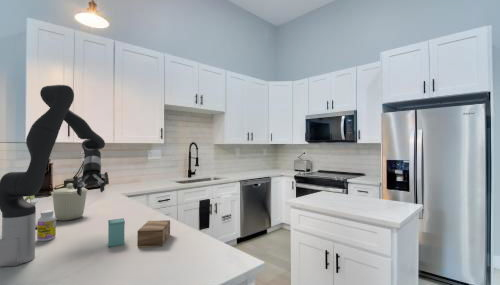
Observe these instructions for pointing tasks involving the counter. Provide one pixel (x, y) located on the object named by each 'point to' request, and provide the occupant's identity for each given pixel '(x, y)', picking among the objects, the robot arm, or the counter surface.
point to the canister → (68, 203)
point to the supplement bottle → (46, 226)
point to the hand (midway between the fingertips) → (90, 193)
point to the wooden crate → (153, 233)
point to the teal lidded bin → (116, 232)
